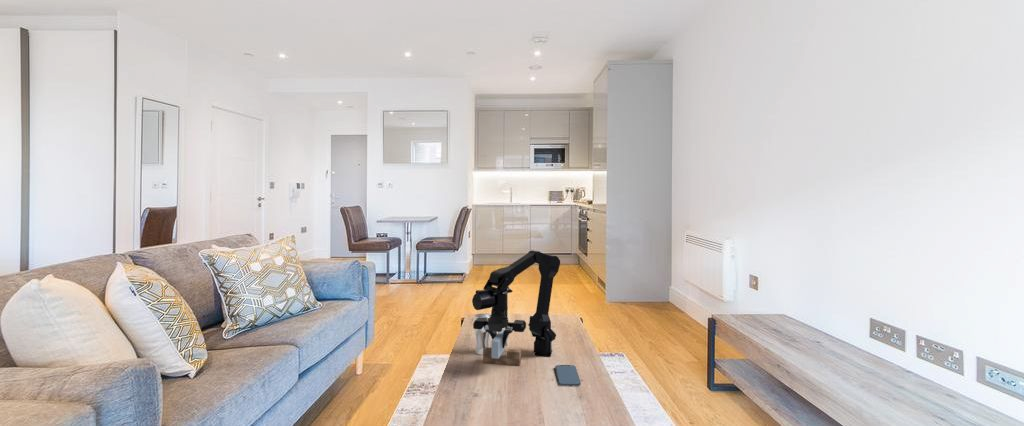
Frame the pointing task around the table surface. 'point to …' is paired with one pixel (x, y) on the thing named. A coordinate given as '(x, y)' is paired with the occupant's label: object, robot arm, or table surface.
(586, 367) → the table surface
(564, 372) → the smartphone
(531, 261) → the robot arm
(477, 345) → the beer glass
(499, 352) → the pale blue upright post
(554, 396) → the table surface
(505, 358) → the tan wooden plank
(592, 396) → the table surface
